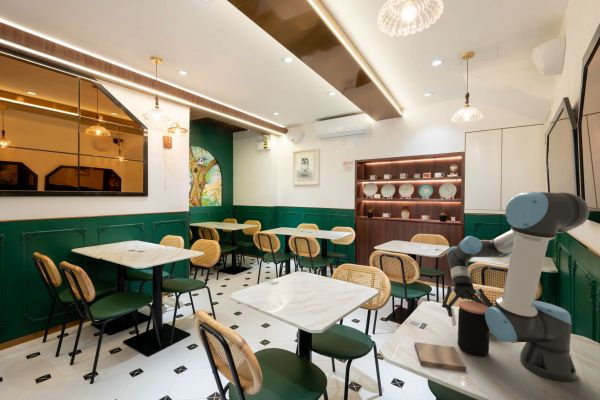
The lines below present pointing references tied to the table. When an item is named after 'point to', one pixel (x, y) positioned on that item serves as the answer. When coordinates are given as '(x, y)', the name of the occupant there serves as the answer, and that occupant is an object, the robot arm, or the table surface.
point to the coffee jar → (473, 329)
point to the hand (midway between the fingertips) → (473, 326)
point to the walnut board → (439, 356)
